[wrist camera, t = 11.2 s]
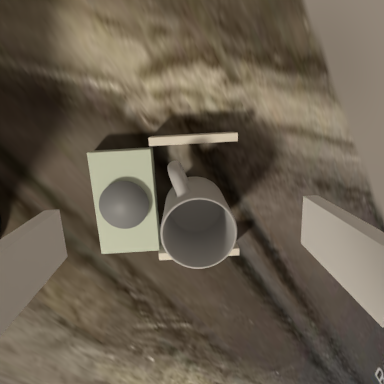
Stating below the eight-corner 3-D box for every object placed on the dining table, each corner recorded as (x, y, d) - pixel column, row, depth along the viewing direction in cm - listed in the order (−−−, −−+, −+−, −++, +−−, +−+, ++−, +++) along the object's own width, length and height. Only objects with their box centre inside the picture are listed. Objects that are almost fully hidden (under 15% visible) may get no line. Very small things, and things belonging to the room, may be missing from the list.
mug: (232, 218, 41) (249, 253, 31) (179, 240, 42) (178, 281, 31) (201, 143, 38) (208, 152, 28) (145, 167, 39) (131, 185, 28)
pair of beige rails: (108, 250, 42) (100, 263, 38) (92, 139, 38) (82, 141, 34) (234, 242, 42) (239, 255, 38) (232, 131, 38) (237, 132, 34)
